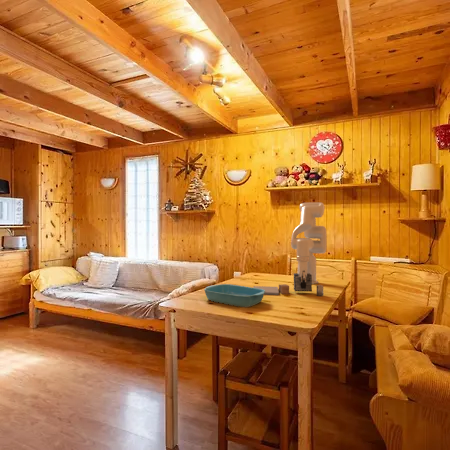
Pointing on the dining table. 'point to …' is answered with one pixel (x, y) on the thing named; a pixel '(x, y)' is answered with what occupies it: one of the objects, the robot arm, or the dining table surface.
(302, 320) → the dining table surface
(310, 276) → the small box
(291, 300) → the dining table surface
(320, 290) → the metal cylinder
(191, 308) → the dining table surface
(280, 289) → the walnut block
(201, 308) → the dining table surface
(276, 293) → the tile board
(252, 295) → the casserole dish
